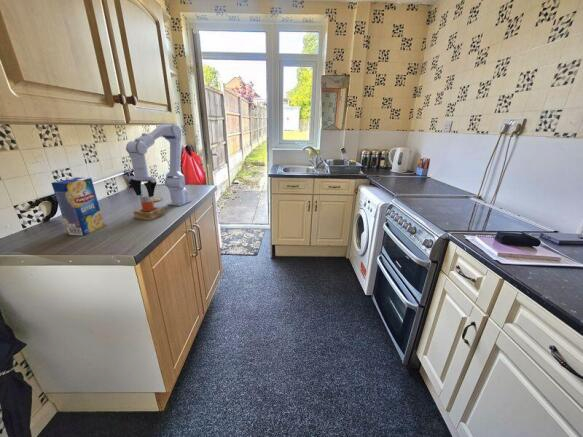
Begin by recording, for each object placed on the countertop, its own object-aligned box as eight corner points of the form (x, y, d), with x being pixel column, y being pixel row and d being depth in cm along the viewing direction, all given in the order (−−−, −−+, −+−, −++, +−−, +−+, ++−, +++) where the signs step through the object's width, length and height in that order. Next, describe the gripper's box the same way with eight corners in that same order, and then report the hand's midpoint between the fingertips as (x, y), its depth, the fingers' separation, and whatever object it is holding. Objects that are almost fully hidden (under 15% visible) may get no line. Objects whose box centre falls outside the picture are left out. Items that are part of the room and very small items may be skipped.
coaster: (152, 197, 155) (152, 197, 155) (164, 199, 153) (164, 198, 153) (140, 201, 147) (140, 200, 147) (152, 203, 145) (152, 202, 145)
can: (149, 214, 127) (145, 193, 124) (158, 215, 126) (154, 194, 122) (141, 217, 123) (136, 196, 119) (149, 218, 121) (145, 197, 117)
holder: (149, 212, 130) (148, 206, 128) (164, 214, 127) (162, 208, 126) (134, 218, 121) (133, 211, 120) (149, 220, 119) (148, 213, 118)
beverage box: (104, 225, 112) (91, 177, 104) (83, 235, 102) (67, 183, 94) (90, 224, 113) (76, 177, 105) (68, 234, 102) (51, 182, 95)
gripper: (120, 168, 114) (126, 196, 119) (145, 170, 110) (150, 199, 115) (133, 166, 120) (138, 193, 125) (157, 168, 117) (162, 195, 121)
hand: (145, 195), depth 120 cm, fingers open, 7 cm apart
